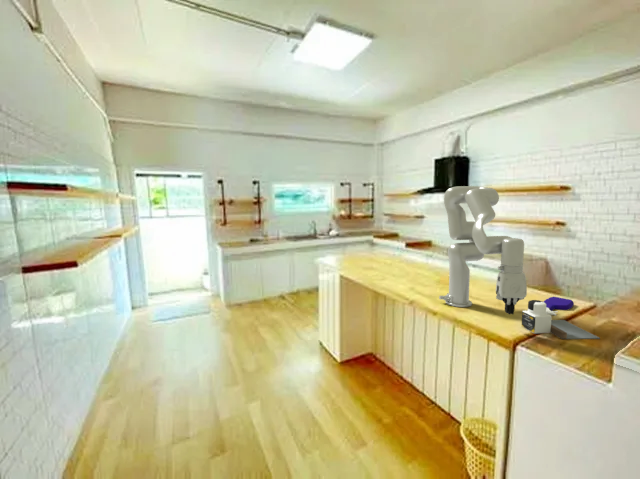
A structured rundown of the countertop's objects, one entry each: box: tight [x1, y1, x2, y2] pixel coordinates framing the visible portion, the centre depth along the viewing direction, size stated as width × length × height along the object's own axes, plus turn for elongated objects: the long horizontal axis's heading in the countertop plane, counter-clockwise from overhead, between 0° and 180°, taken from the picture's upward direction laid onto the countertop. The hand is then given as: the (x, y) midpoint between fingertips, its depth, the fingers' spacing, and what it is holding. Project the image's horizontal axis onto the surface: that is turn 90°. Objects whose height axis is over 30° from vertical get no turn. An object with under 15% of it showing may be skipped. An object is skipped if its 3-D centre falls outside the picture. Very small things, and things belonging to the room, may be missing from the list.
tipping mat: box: [550, 319, 601, 340], centre depth 126 cm, size 14×18×2 cm
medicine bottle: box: [521, 299, 553, 334], centre depth 126 cm, size 7×7×12 cm
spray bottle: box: [543, 296, 575, 316], centre depth 151 cm, size 3×11×24 cm
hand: (509, 313), depth 126 cm, fingers closed
